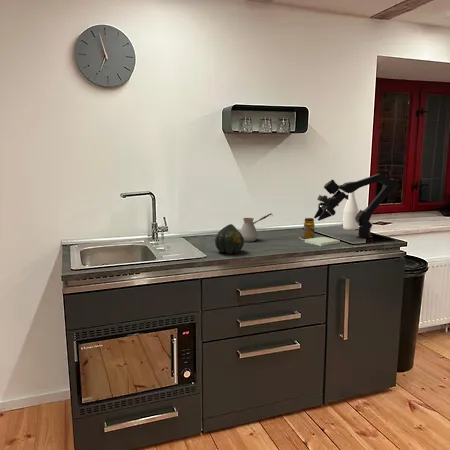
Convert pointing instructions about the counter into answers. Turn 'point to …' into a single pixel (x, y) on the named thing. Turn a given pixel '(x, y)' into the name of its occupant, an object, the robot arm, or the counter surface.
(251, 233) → the coffee pot
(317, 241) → the board
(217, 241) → the squash
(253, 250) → the counter surface
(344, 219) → the wine bottle
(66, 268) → the counter surface
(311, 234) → the condiment
